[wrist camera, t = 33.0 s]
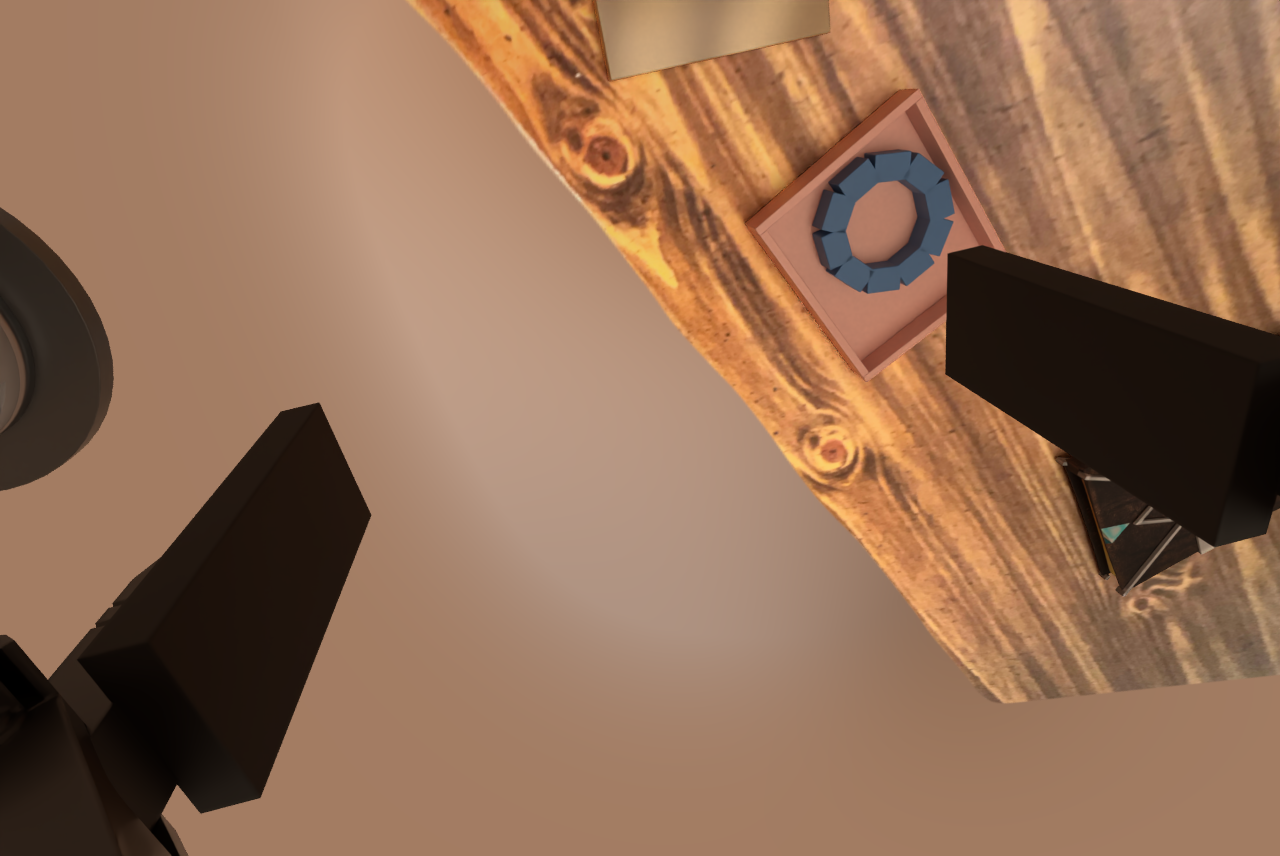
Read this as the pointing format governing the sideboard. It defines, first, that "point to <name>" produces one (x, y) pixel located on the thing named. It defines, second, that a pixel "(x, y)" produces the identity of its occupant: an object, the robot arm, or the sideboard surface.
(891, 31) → the sideboard surface
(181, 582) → the robot arm
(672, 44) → the tan post with base
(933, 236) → the ring
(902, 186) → the tray
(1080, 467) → the book
